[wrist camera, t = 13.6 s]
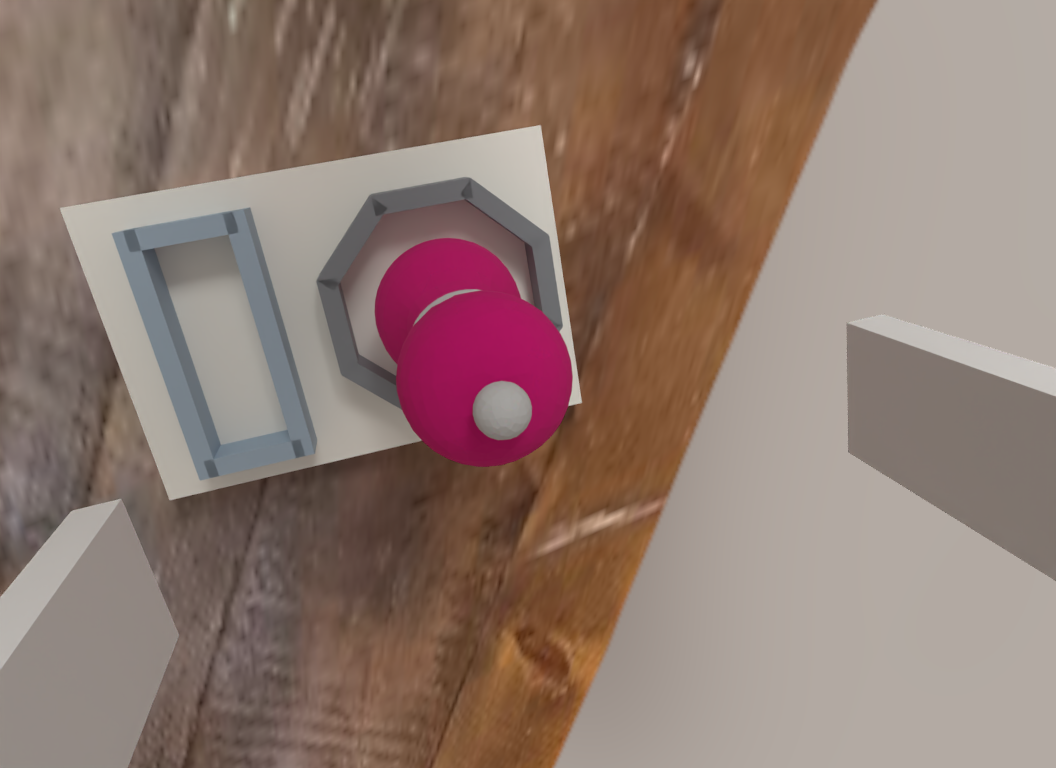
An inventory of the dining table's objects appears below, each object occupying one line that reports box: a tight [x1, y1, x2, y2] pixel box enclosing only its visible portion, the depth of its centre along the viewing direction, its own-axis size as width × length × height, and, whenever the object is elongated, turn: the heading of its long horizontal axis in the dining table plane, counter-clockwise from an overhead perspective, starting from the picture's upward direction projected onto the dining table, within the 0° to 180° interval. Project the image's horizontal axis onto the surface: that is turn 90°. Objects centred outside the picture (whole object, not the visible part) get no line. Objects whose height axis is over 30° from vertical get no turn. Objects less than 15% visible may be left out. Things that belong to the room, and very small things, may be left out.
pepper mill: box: [375, 238, 573, 467], centre depth 29 cm, size 7×7×20 cm
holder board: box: [60, 125, 582, 500], centre depth 38 cm, size 16×24×4 cm, turn 100°
